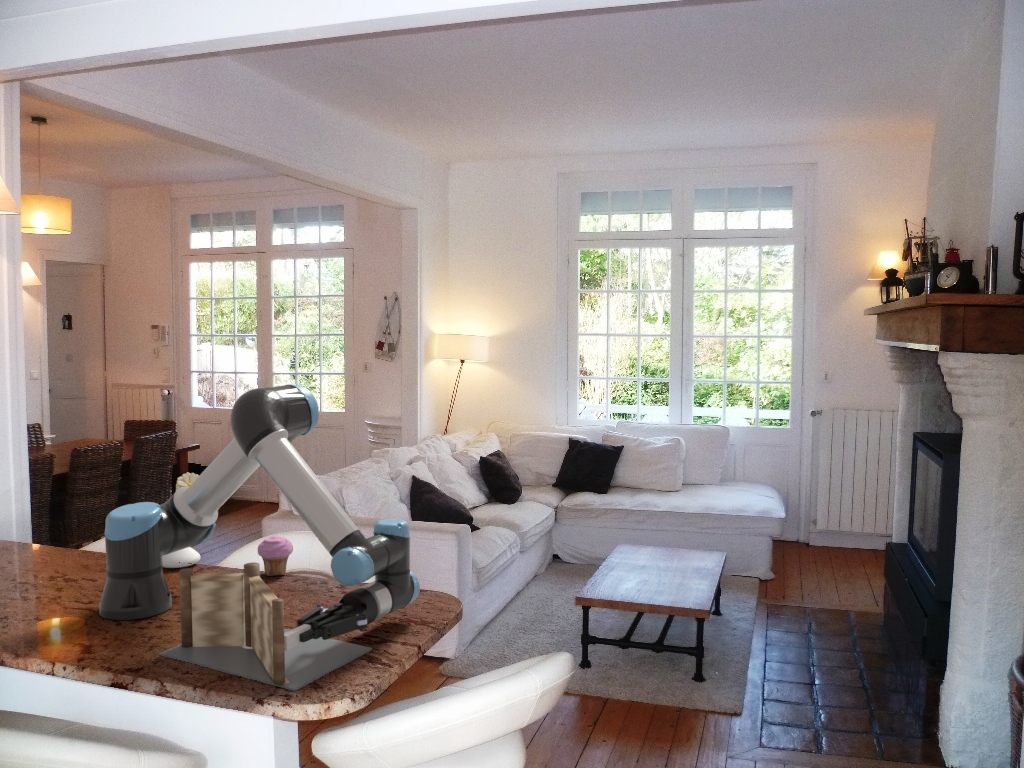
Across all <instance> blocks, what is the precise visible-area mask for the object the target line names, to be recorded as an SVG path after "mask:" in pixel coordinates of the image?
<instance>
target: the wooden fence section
mask: <svg viewBox="0 0 1024 768" xmlns="http://www.w3.org/2000/svg"><path fill="white" fill-rule="evenodd" d="M255 576H259V577H260V578H261V573H260V563H259V562H255V561H253V562H247V563H244V564H243V572H223V573H222V572H215V573H214V572H207V573H205V572H203V573H200V572H198V573H197V572H196V573H195V572H194V573H193V568H191V567H190V568H189V567H184V568H180V569H179V597H180V598H179V599H180V604H179V605H180V635H181V636H180V638H181V639H180V640H181V641H180V644H182V647H184V648H188V647H192V646H193V647H213V646H243V645H244V644H246V646H247V647H251V604H250V583H249V577H255Z"/></svg>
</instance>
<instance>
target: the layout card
mask: <svg viewBox="0 0 1024 768" xmlns="http://www.w3.org/2000/svg"><path fill="white" fill-rule="evenodd" d="M290 630H291V629H289V628H285V627H284V633H286V632H288V631H290ZM372 650H373V648H372V647H369V646H365V645H360V644H356V643H350V642H347V641H342V640H338V639H335V638H330V639H327V640H323V639H322V637H320V638H318V639H311V640H309V641H306V642H304V643H302V644H300V645H298V646H296V647H294V648H292V649H290V650H287V651H285V683H284V684H281V685H275V684H274V681H273V679H272V678H271V676H270V675H269V673H268V671H267V670H266V668H265V667H264V665H263V664H262V662H261V661H260V659H259V657H258V656H257V654H256V653H255V651H254V650H253V648H252V647H247V646H246V644H244V645H243V646H213V647H193V646H192V647H188V648H184V647H182V643H180V644H178V645H176V646H175V645H174V646H173V647H171V648H168V649H166V650H163V651H161V652H159V653H158V655H159V656H162V657H165V658H170V659H174V660H176V659H177V660H178V661H180V660H181V662H184V661H185V662H184V663H188V662H189V663H188V664H191V663H192V664H191V665H195V664H197V665H196V666H199V665H200V667H203V666H204V667H203V668H206V667H208V668H207V669H210V668H211V670H214V671H218V672H222V673H226V674H230V675H233V676H236V675H237V677H240V676H241V678H245V679H248V680H251V679H252V680H251V681H255V680H257V681H256V682H259V681H260V682H259V683H264V684H267V685H270V686H274V687H279V688H282V689H286V690H290V691H293V692H296V691H299V690H300V689H302V688H304V687H306V686H307V685H310V684H311V683H313V682H315V681H317V680H319V679H320V677H321V678H322V676H323V677H324V676H326V675H328V674H330V673H332V672H334V671H335V669H336V670H337V669H340V668H341V667H342V666H345V665H347V664H348V663H351V662H353V661H354V660H356V659H358V658H359V657H362V656H364V655H365V654H367V653H369V652H371V651H372ZM333 670H334V671H333ZM331 671H332V672H331ZM329 672H330V673H329ZM327 673H328V674H327ZM325 674H326V675H325ZM316 679H317V680H316ZM314 680H315V681H314ZM309 683H310V684H309Z"/></svg>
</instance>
